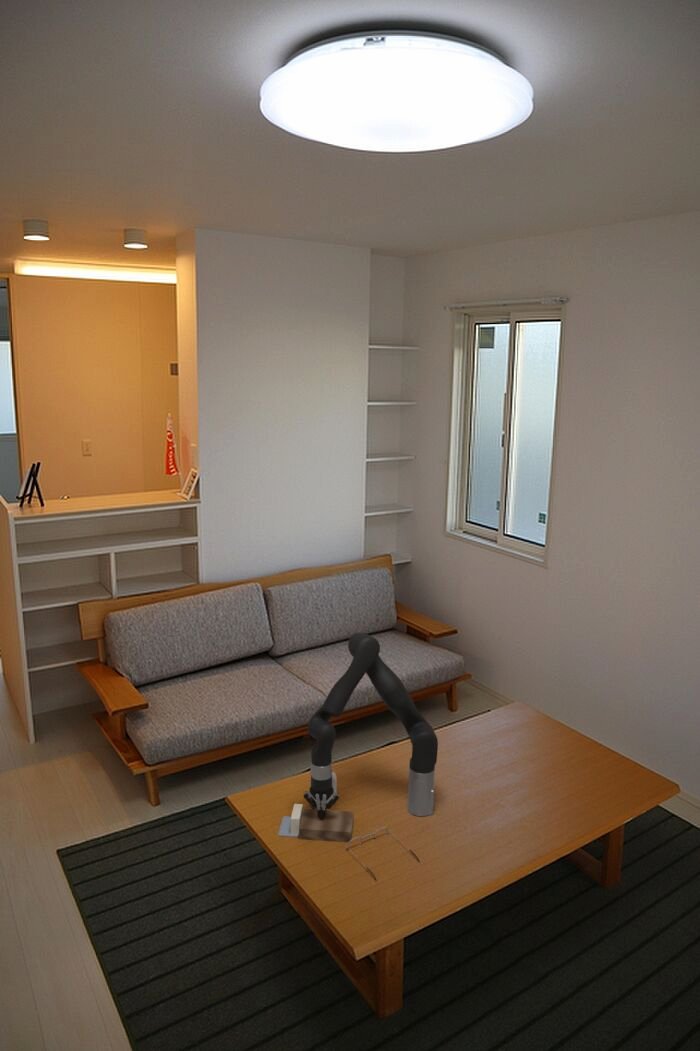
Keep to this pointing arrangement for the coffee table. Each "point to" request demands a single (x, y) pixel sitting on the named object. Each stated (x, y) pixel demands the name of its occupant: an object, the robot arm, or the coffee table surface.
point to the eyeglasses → (376, 838)
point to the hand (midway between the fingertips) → (321, 817)
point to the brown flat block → (326, 826)
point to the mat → (286, 828)
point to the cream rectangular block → (296, 818)
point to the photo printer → (334, 783)
